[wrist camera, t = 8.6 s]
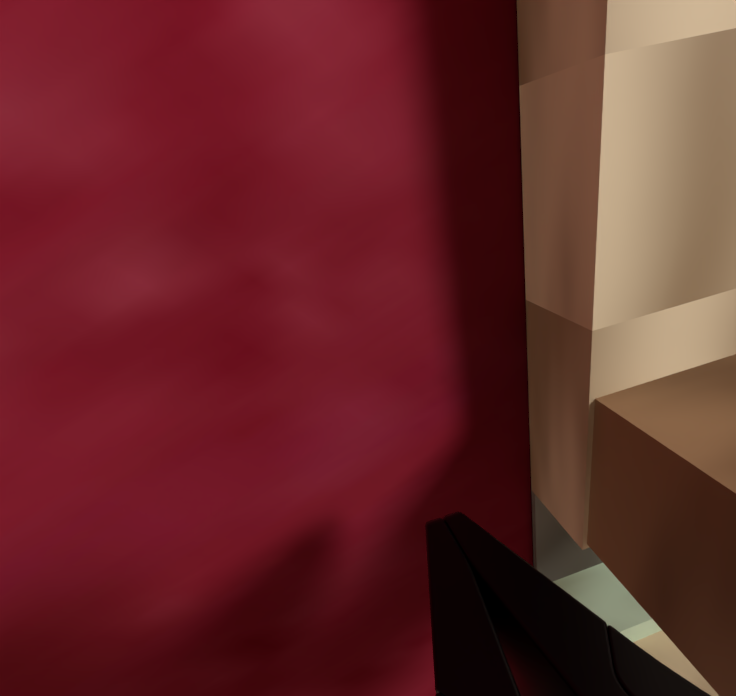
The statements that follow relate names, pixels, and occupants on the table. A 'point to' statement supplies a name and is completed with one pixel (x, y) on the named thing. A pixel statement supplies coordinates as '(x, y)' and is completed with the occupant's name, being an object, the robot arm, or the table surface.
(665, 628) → the walnut block
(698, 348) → the trap deck
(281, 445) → the table surface
